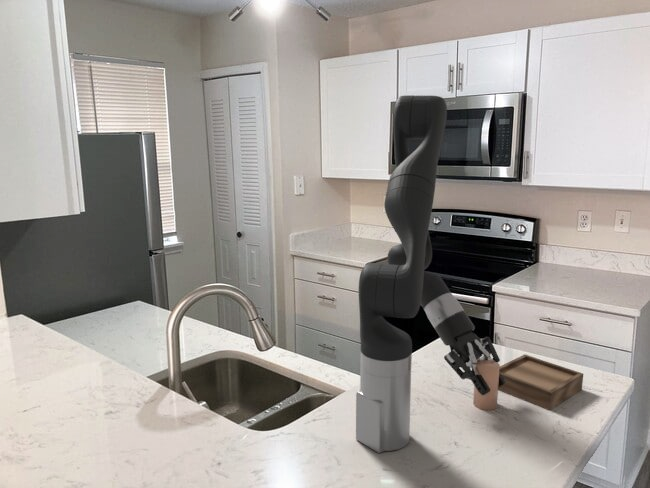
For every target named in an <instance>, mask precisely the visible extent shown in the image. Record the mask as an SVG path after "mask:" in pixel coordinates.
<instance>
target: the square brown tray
mask: <svg viewBox="0 0 650 488" xmlns="http://www.w3.org/2000/svg"><path fill="white" fill-rule="evenodd" d="M499 372H500V373H501V375H502V377H503V378H504V381H505V384H504V385H502V386H500V387H498V391H500V392H503V393H505V394H509V395H511V396H513V397H517V398H518V399H521V400H524V401H526V402H528V403H531V404H534V405H536V406H538V407H542V408H544V409H545V410H549V411H551V410H553V409H555V408H556V407H557V406H559V405H561V404H562V403H563V402H565V401H567V400H568V399H570V398H572V397H573V396H575V395H576V394H578V393H579V392H581V391H582V390H583V383H584V382H583V381H584V373H582V372H579V371H577V370H573V369H570V368H568V367H565V366H561V365H558V364H555V363H552V362H549V361H546V360H542V359H540V358H536V357H534V356H530V355H528V354H522V355H521V356H519V357H516V358H515V359H512V360H510V361H508V362H506V363H504V364H502V365H500V368H499Z"/></svg>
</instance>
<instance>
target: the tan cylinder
mask: <svg viewBox="0 0 650 488" xmlns="http://www.w3.org/2000/svg"><path fill="white" fill-rule="evenodd" d="M476 365H477V368H478V371H479V375H480V374H481V376H482V377H483V379H484V380H485V382H486V383H487V385H488V386H489V388H490V392H488V393H487V394H485V395H481V393H479V392H478V390H477V389H476V387H475V385H474V384H473V400H472V401H473V405H474V407H475V408H478V409H479V410H483V411H493V410H496V409H497V408H498V400H499V399H498V397H499V390H498V384H499V368H500V366H501V365H500V363H499V362H498V363H497V362H495V361H492V360H478V361H477V364H476Z"/></svg>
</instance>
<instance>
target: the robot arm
mask: <svg viewBox="0 0 650 488" xmlns="http://www.w3.org/2000/svg"><path fill="white" fill-rule="evenodd" d="M447 116H448V108H447V103H446V101H445V99H444V98H443V97H442V96H439V95H438V96H437V95H414V94H413V95H401V96H399V97H398V98H397V99H396V102H395V105H394V108H393V116H392V117H393V119H392V129H393V131H392V132H393V144H394V146H393V148H394V162H395V165H394V166H395V169H394V170H393V172H392V173H391V175H390V177H389V178H388V179H389V180H388V183H387V187H386V193H385V198H384V204H383V205H384V212H385V214H386V217H387V219H388V221H389V223H390V225H391V226H392V229H393V231H394V232H395V233H396V235H397V237H398V239H399V240H400V242H401V243H400V244H396V245H394V246H392V247H391V248H389V250H388V253H387V263H378V262H377V263H376V262H375V263H374V262H373V263H372V262H370V263H367V264H365V265H364V266H363V268H361V271H360V274H359V279H358V307H359V308H358V309H359V338H360V339H359V340H360V369H359V372H360V377H359V381H360V382H359V385H360V386H359V390H358V391H356V394H355V398H356V399H355V402H356V403H355V440H356V441H358V442H360V443H362V444H363V445H365V446H366V447H368V448H369V449H372V451H375V452H376V453H378V454H380V453H383V452H390V451H397V450H400V449H403V448H404V447H406V446H407V445H408V443H409V442H410V433H411V432H410V428H411V425H410V424H411V394H412V393H411V392H412V391H411V390H412V389H411V388H412V387H411V386H412V357H413V354H412V353H413V342H412V338H411V336H410V335H409V333H407V332H406V331H404V330H402V329H400V328H398V327H396V326H394V325H393V324H391V323H389V321H387V320H386V319H385V318H384V317H390V318H399V319H412V318H415V317H416V316H417V314H418V313H419V310H420V307H422V309H423V310H424V312H425V314H426V317H427V319H428V320H429V322H430V324H431V325H432V327H433V328H434V330H435V331H436V333H437V334H438V337H439V338H440V340H441V341H442V343H443V344H444V345H445V346H449V348H450V351H449V352H448V353H447V354H446V355H444V357H443V358H444V360H445V362H446V363H447V364H448V365H449V367H450V368H452V369H453V370H454V372H455V373H456V374H457V375H458V376H459V378H460V379H462V380H465V379H466V380H467V379H468V380H470V381H471V382H472V384H473V386H474V385H475V387H476V389H477V390H478V392H479V393H481V395H485V394H487V393H488V392H490V388H489V386H488V385H487V383H486V382H485V380H484V379H483V377H482V376H481V374H480V375H479V371H478V368H477V365H476V364H477V361H478V360H492V361H495V362H497V363H498V364H499V362H500V360H501V359H500V357H499V355H498V353H497V351H496V349H495V346H494V344H493V342H492V340H491V338H490V337H489V336H488V335H487V336H485V337H484V338H480V337H479V336H478V335H477V334H476V333H475V329H476V326H475V325H474V323H473V322H472V320H471V319H470V317H469V316H468V314H467V312H466V311H465V310H464V308H463V307H462V305H461V303H460V301H458V299H457V298H456V297H455V296H454V295H453V294H452V291H450V289H449V287H448V286H447V284H446V283H445V281H444V280H443V279H442V277H441V276H440V275H439V274H437V273H431V272H428V271H427V272H426V271H425V270H426V269H427V268H428V267H429V266H430V264H431V263H432V259H433V247H432V242H431V237H430V231H429V228H430V221H431V216H432V210H433V207H434V206H433V205H434V198H435V189H436V182H437V171H438V163H439V157H440V151H441V147H442V143H443V139H444V134H445V129H446V124H447V118H448V117H447ZM409 140H422V141H421V142H420V144H419V145H418V147H417V148H416V149H415V150H413V152H412V153H410V147H409ZM504 384H505V381H504V378H503V377H502V375H501V373H500V372H499V384H498V387H500V386H502V385H504Z"/></svg>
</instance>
